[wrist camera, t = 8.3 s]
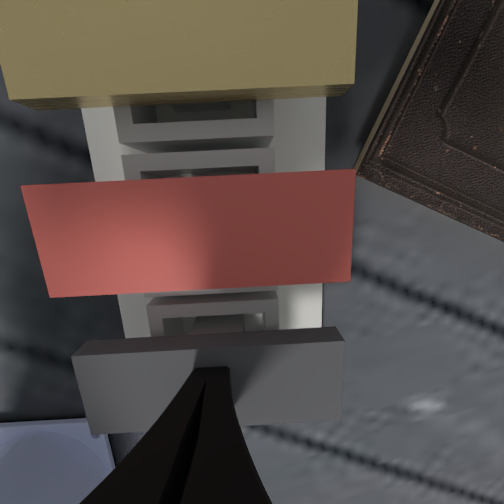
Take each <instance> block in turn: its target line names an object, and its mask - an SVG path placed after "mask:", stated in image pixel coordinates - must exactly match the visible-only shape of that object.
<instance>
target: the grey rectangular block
mask: <svg viewBox="0 0 504 504" xmlns="http://www.w3.org/2000/svg"><path fill="white" fill-rule="evenodd" d="M344 349H345V340H344V339H343V337H342V336H341V334H340V333H339V331H338V330H337V328H336V327H318V328H300V329H282V330H264V331H246V332H245V326H244V314H233V315H215V316H197V317H196V319H195V322H194V324H193V327H192V329H191V332H190V334H189V335H174V336H156V337H138V338H120V339H102V340H87V341H86V342H85V343H84V344H83V345H82V346H81V347H80V348H79V349H78V350H77V351H76V352H75V353H74V354H73V355H72V356H71V359H72V363H73V367H74V371H75V375H76V379H77V383H78V386H79V390H80V394H81V398H82V402H83V406H84V410H85V414H86V417H87V421H88V425H89V429H90V433H91V435H98V434H115V433H132V432H147V431H148V430H149V429H150V428H151V426H152V425H153V424H154V423H155V422H156V420H157V419H158V418H159V417H160V415H161V414H162V413H163V411H164V410H165V409H166V407H167V406H168V405H169V403H170V402H171V401H172V399H173V398H174V397H175V395H176V394H177V392H178V391H179V390H180V388H181V387H182V385H183V384H184V382H185V381H186V379H187V378H188V376H189V375H190V373H191V372H192V370H193V369H194V368H201V367H219V366H227V367H229V368H230V376H231V388H232V399H233V403H234V407H235V411H236V415H237V418H238V422H239V425H240V426H251V425H268V424H285V423H302V422H319V421H336V420H341V414H342V392H343V371H344Z"/></svg>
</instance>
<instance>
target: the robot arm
mask: <svg viewBox="0 0 504 504" xmlns="http://www.w3.org/2000/svg"><path fill="white" fill-rule="evenodd" d="M0 504H272V502H271V500H270V498H269V496H268V494H267V492H266V490H265V488H264V486H263V484H262V482H261V479H260V477H259V475H258V472H257V470H256V468H255V466H254V463H253V461H252V458H251V456H250V453H249V451H248V448H247V445H246V443H245V440H244V437H243V434H242V431H241V428H240V425H239V422H238V418H237V415H236V411H235V407H234V403H233V399H232V388H231V376H230V368H229V367H227V366H219V367H201V368H194V369H193V370H192V372H191V373H190V375H189V376H188V378H187V379H186V381H185V382H184V384H183V385H182V387H181V388H180V390H179V391H178V392H177V394H176V395H175V397H174V398H173V399H172V401H171V402H170V403H169V405H168V406H167V407H166V409H165V410H164V411H163V413H162V414H161V415H160V417H159V418H158V419H157V420H156V422H155V423H154V424H153V425H152V426H151V428H150V429H149V430H148V431H147V433H146V434H145V435H144V436H143V437H142V439H141V440H140V441H139V442H138V443H137V444H136V446H135V447H134V448H133V449H132V450H131V451H130V452H129V453H128V455H127V456H126V457H125V458H124V459H123V460H122V461H121V462H120V463H119V464H118V465H117V466H116V467H115V464H114V460H113V456H112V451H111V447H110V443H109V439H108V434H98V435H91V433H90V429H89V425H88V421H87V418H78V419H61V420H44V421H27V422H10V423H0Z"/></svg>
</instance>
